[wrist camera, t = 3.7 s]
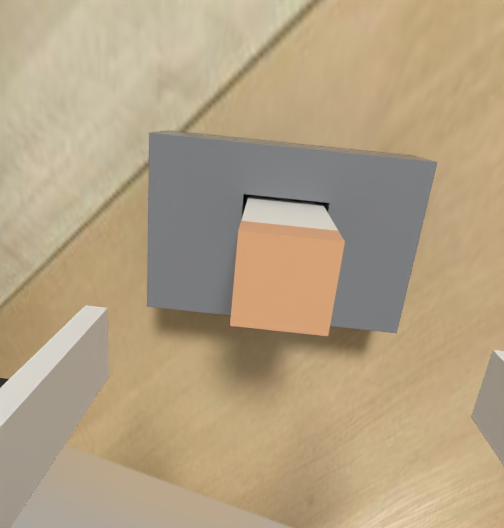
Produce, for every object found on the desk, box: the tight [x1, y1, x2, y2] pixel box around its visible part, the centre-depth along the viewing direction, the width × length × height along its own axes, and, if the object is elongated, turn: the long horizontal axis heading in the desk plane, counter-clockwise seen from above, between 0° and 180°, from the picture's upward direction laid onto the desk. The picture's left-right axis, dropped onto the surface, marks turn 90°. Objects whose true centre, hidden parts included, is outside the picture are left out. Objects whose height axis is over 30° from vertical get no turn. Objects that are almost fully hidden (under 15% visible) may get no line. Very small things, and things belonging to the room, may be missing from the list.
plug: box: [230, 195, 345, 336], centre depth 26 cm, size 5×5×12 cm
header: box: [147, 131, 437, 333], centre depth 30 cm, size 18×12×5 cm, turn 84°
